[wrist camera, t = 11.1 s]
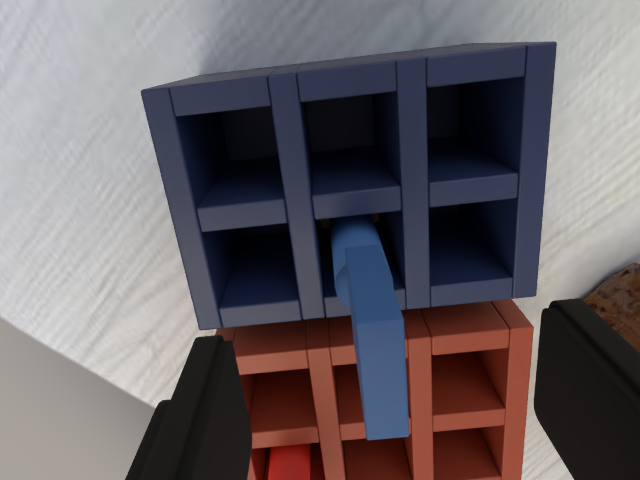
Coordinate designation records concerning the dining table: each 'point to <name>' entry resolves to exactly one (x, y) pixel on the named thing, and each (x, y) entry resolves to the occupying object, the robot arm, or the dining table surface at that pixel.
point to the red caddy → (422, 389)
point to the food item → (620, 303)
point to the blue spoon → (372, 324)
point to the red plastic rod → (290, 462)
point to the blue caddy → (357, 176)
